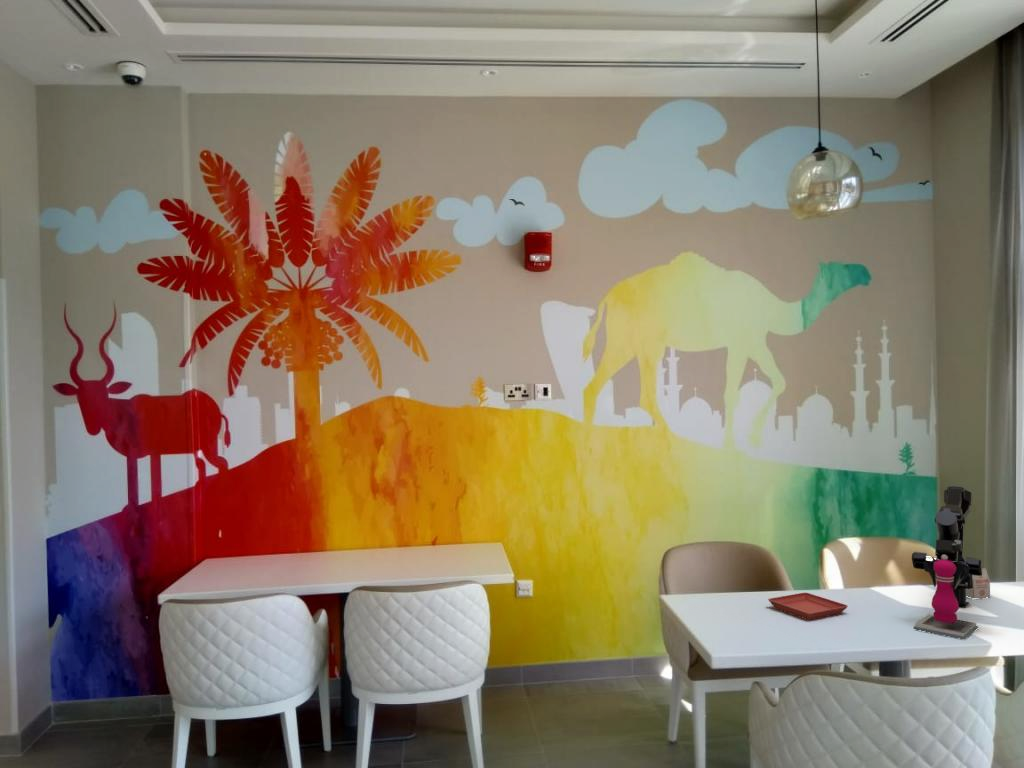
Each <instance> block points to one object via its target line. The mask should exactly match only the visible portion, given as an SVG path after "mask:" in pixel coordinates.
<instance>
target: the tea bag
mask: <svg viewBox="0 0 1024 768" xmlns="http://www.w3.org/2000/svg"><path fill="white" fill-rule="evenodd" d="M972 579H973V588H970V589H966V596H968V597H971V598H986V597H988V598H989V597H990V598H991V580H990V578H989V574H988V572H987V568H984V567H983V568H982V575H981V576H976V575H972ZM966 584H968V583H966Z"/></svg>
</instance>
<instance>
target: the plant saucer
mask: <svg viewBox="0 0 1024 768" xmlns="http://www.w3.org/2000/svg"><path fill="white" fill-rule="evenodd" d="M767 600H768V601H769V602H770V604H771V605H772V606H773V607H774V608H775V609H776V610H779V611H781V610H782V612H784V611H785V612H784V613H787V612H788V614H790V613H791V615H793V614H794V615H793V616H796V615H797V616H796V617H799V616H800V617H799V618H802V617H803V618H802V619H805V618H806V619H805V620H808V619H811V620H815V619H814V618H816V619H820V618H819V617H821V618H825V617H824V616H826V617H830V616H829V615H831V616H835V615H834V614H836V615H839V613H840V614H842V613H843V612H844V611H845V610H846V609H847V608H848V607H849V606H848V604H844V603H842V602H838V601H835V600H831V599H829V598H825V597H822V596H820V595H819V596H818V595H815V594H812V593H810V592H799V593H795V594H788V595H782V596H776V597H772V598H770V597H769V598H768V599H767Z"/></svg>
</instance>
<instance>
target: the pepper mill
mask: <svg viewBox="0 0 1024 768" xmlns="http://www.w3.org/2000/svg"><path fill="white" fill-rule="evenodd" d="M941 558H942V559H939V560H937V561H936V562H935V563H934V566H933V568H934V571H935V572H936V575H935V576H936V578H935V579H936V589H935V592H934V594H933V596H932V599H931V608H932V609H933V610H934V612H933V613H932V615H933V618H934V619H935V620H937V621H940V622H945V623H954V622H956V621H957V620H958V615H957V613H958V611H959V608H960V607H959V606H958V601H957V599H956V597H955V594H954V592H953V586H952V584H953V581H954V576H953V574H954V573H955V572H956V566H955V564H954V563H953V562H952V561H950V560H947V559H948V556H947V555H945V554H943V555H942V556H941Z"/></svg>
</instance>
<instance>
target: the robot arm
mask: <svg viewBox="0 0 1024 768" xmlns="http://www.w3.org/2000/svg"><path fill="white" fill-rule="evenodd" d="M973 498H974V497H973V494H972V492H971V491H969V490H967V489H965V487H962V486H954V485H953V486H947V489H945V490H943V503H944V505H942V506H941V507H940V508H939V511H938V512H936V514H935V516H934V523H935V524H936V528H937V532H938V537H937V538H938V539H936V540H935V552H934V555H935V557H936V558H935V557H934V556H928V555H927V552H919V551H913V552H912V554H911V561H912V562H911V563H912V566H913V568H914V569H918V570H924V571H925V572H926V573H928V574H929V576H930V578H931V581H932V585H933V587H934V588H937V580H936V579H935V578H936V576H935V575H936V572H935V571H934V568H933V566H934V563H935V562H936V561H937V560H939V559H942V558H941V556H942V555H943V554H945V555H947V556H948V559H947V560H950V561H952V562H953V563H954V564H955V566H956V572H955V573H954V574H953V576H954V581H953V584H952V586H953V592H954V594H955V597H956V599H957V601H958V606H959V608H964V609H965V608H966V607H968V606H967V605H968V604H969V605H970V602H969V601H967V597H966V589H970V588H973V579H972V575H976V576H981V575H982V569H983V564H982V562H983V561H982V560H981V559H980V558H977V557H965V559H964V550H965V548H964V546H965V544H964V543H965V525H966V523H967V518H966V517H967V516H968V515H969V514H970V512H971V507H973V503H974V502H973ZM966 583H968V584H966Z"/></svg>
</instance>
